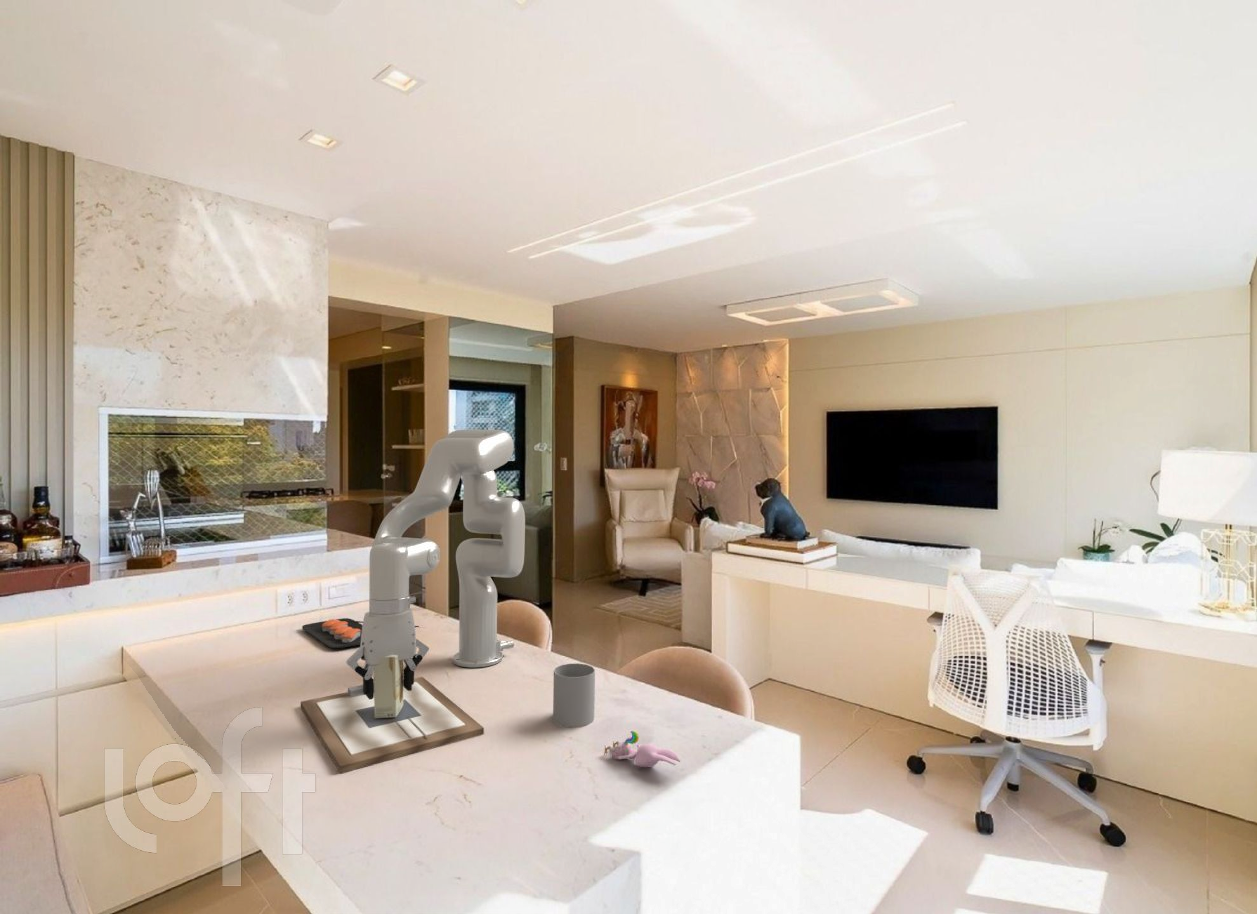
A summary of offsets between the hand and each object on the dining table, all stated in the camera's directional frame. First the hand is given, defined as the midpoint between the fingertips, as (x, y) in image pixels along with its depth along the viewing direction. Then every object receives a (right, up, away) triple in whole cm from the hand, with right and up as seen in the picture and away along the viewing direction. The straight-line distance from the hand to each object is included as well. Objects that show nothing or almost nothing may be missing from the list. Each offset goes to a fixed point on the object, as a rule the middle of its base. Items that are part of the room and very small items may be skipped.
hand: (388, 692), depth 131 cm
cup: (+37, -6, +2) cm, 38 cm away
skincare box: (0, -4, 0) cm, 4 cm away
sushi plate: (-29, -5, +62) cm, 69 cm away
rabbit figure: (+51, -7, -17) cm, 54 cm away
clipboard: (0, -6, 0) cm, 6 cm away
